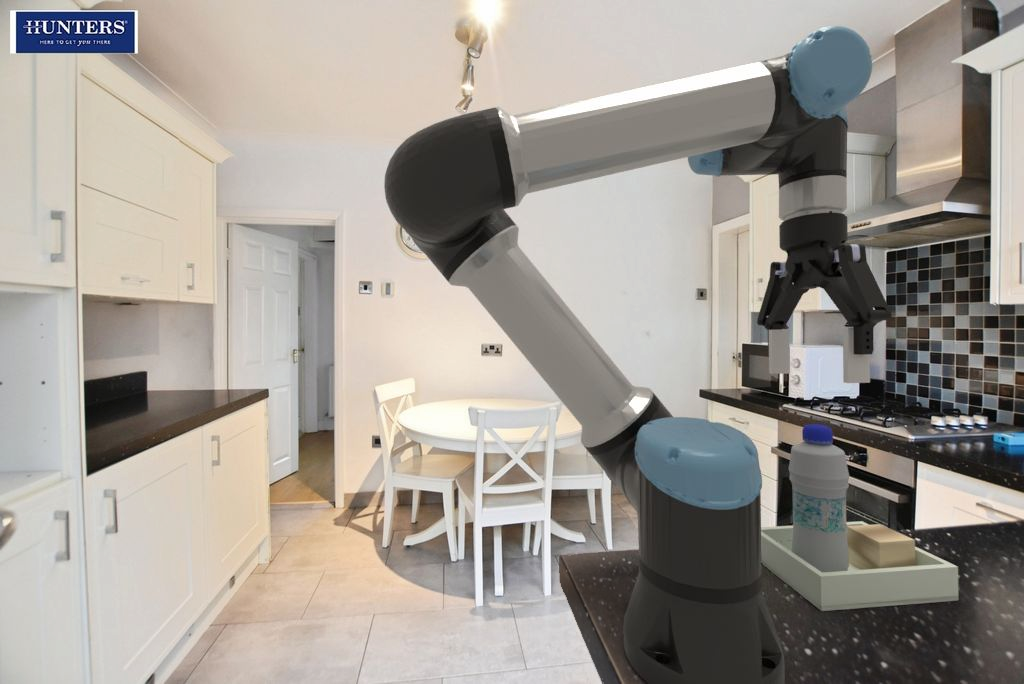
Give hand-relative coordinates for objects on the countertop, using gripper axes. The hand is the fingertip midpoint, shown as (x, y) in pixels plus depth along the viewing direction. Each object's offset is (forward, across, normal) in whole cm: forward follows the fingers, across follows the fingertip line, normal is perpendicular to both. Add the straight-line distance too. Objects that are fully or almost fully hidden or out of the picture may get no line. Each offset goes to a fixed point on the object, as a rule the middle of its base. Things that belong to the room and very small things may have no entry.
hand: (813, 377), depth 60 cm
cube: (+26, 0, -9) cm, 28 cm away
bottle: (+26, 0, 0) cm, 26 cm away
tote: (+27, 0, -4) cm, 27 cm away
